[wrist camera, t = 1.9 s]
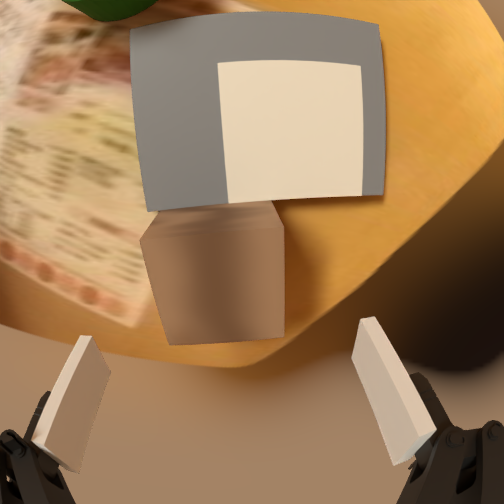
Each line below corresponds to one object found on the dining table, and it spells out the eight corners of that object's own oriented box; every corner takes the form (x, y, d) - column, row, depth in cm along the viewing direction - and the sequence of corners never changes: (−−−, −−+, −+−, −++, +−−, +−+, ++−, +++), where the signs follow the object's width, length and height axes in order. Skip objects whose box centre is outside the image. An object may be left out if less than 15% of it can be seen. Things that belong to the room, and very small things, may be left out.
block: (181, 290, 25) (169, 345, 19) (165, 203, 21) (139, 240, 15) (271, 283, 25) (284, 337, 19) (267, 193, 22) (284, 226, 15)
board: (152, 205, 21) (147, 212, 20) (135, 34, 15) (129, 29, 13) (374, 190, 22) (383, 195, 20) (370, 28, 16) (379, 24, 14)
